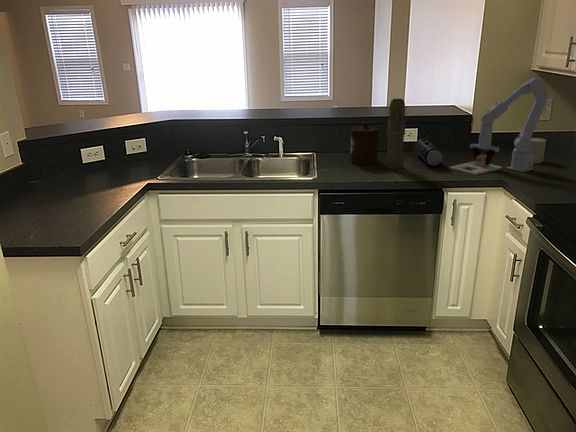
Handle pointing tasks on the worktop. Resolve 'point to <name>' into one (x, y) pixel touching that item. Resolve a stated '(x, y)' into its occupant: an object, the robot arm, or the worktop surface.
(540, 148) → the can
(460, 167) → the panel
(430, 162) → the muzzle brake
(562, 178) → the worktop surface
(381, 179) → the worktop surface
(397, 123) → the olive rounded pillar
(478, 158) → the plug
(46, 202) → the worktop surface
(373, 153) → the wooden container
